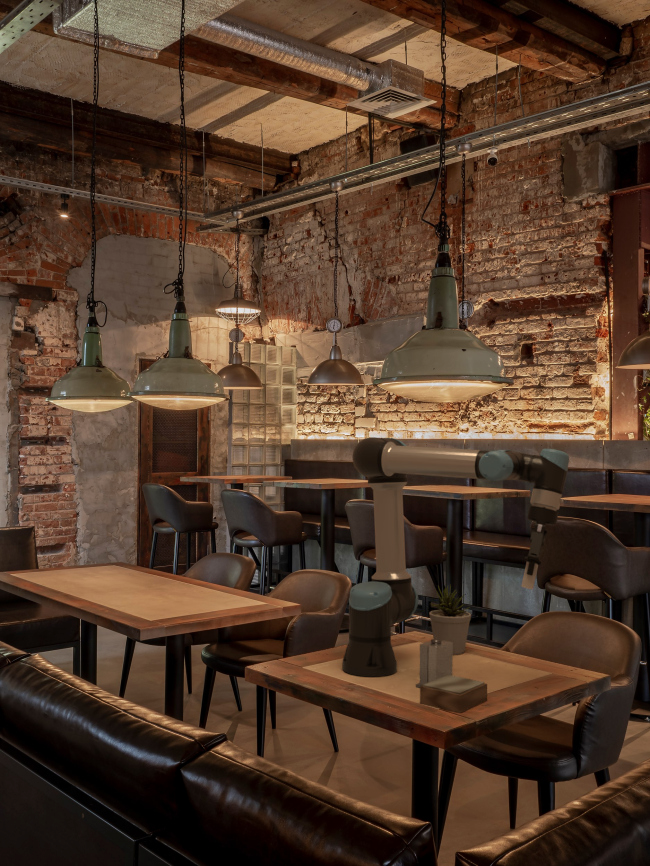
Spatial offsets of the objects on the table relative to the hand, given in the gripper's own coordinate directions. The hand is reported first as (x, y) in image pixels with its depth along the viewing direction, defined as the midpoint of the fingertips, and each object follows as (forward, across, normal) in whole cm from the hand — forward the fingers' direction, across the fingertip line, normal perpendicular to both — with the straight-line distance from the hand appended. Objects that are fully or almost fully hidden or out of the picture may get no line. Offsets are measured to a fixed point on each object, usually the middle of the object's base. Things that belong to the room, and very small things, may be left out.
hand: (527, 588), depth 206 cm
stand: (+30, -14, +11) cm, 35 cm away
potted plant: (+25, +36, +19) cm, 48 cm away
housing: (+30, -2, +17) cm, 35 cm away
